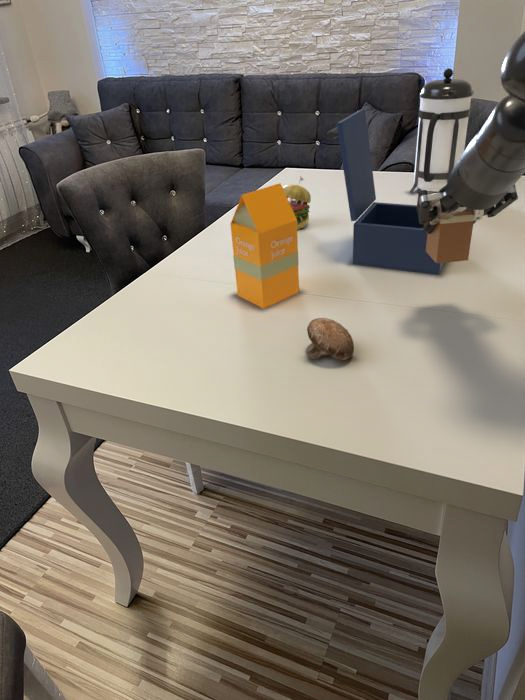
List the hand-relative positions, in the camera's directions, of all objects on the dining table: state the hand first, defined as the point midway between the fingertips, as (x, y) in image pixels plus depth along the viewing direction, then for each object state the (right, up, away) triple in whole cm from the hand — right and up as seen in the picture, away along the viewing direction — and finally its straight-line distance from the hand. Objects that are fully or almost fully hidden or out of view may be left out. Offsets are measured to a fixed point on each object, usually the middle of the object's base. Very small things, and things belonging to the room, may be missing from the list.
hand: (445, 226), depth 84 cm
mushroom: (-18, -20, -2) cm, 28 cm away
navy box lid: (-10, +17, +20) cm, 28 cm away
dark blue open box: (0, -1, +26) cm, 26 cm away
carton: (+1, -5, +1) cm, 5 cm away
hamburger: (-20, +10, +46) cm, 51 cm away
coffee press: (+19, +23, +62) cm, 68 cm away
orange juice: (-27, -10, +16) cm, 33 cm away
